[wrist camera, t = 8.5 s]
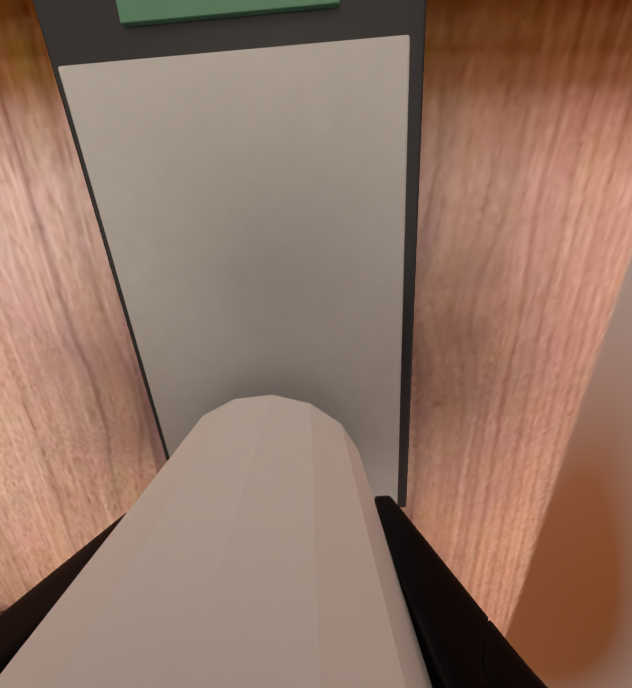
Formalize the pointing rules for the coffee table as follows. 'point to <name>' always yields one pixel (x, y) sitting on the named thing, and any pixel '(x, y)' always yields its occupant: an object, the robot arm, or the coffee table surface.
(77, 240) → the coffee table surface
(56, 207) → the coffee table surface
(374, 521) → the shot glass
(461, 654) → the robot arm
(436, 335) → the coffee table surface
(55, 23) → the kitchen scale
